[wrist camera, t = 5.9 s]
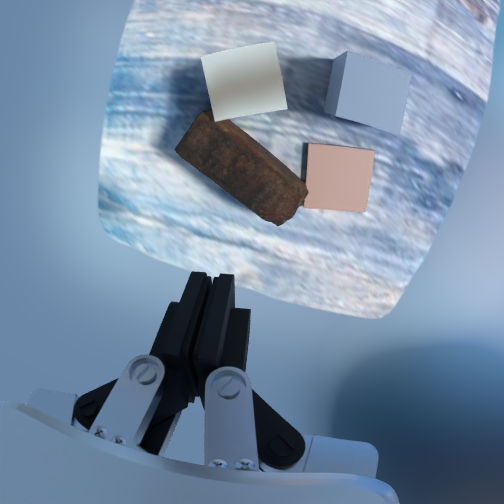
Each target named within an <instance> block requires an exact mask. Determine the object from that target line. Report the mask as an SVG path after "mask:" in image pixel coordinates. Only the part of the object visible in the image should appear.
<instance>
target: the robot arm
mask: <svg viewBox="0 0 504 504" xmlns="http://www.w3.org/2000/svg"><path fill="white" fill-rule="evenodd" d="M234 289H235V285H234V275H233V274H220V275H219V277H214V280H213V283H212V280H211V277H210V276H207V274H206V272H194V271H192V272H191V274H190V277H189V280H188V282H187V284H186V287H185V290H184V292H183V295H182V297H181V300H180V302H171V303H170V304H169V306H168V309H167V311H166V313H165V316H164V318H163V321H162V323H161V326H160V328H159V331H158V333H157V336H156V338H155V341H154V344H153V346H152V349H151V351H150V354H149V355H140V356H137V357H135V358H133V359H132V360H131V361H130V362H129V363H128V364H127V366H126V367H125V369H124V371H123V372H122V374H121V376H120V377H119V378H118V379H116V380H113V381H111V382H110V383H107V384H105V385H103V386H101V387H99V388H97V389H94V390H92V391H90V392H88V393H86V394H84V395H82V396H77V395H76V394H73V393H65V392H58V391H52V390H46V389H37V390H35V391H34V392H33V393H32V394H31V395H30V398H29V401H28V405H26V404H24V403H20V402H15V401H1V402H0V504H399V501H398V498H397V495H396V493H395V491H394V490H393V489H392V487H390V486H389V485H388V484H386V483H384V482H382V481H379V480H377V479H375V476H376V470H377V464H378V452H377V450H376V449H375V447H373V446H372V445H371V444H369V443H365V442H358V441H349V440H342V439H335V438H329V437H322V436H317V435H314V436H308V435H303V434H300V433H299V432H298V431H297V430H296V429H295V428H294V427H292V426H291V425H290V424H289V423H288V422H287V421H285V420H284V419H283V418H282V417H281V416H280V415H279V414H278V413H277V412H276V411H275V410H274V409H272V408H271V407H270V406H269V405H268V404H267V403H266V402H265V401H264V400H263V399H262V398H261V397H260V396H259V395H258V394H257V393H256V392H254V390H253V389H252V387H251V382H250V378H249V377H248V375H247V374H246V373H245V370H246V362H247V352H248V343H249V333H250V313H251V309H243V308H235V290H234ZM195 396H197V397H199V396H200V398H201V402H202V405H203V408H204V410H205V435H204V436H205V438H204V440H205V441H204V447H205V449H204V450H205V451H204V453H205V466H204V465H198V464H192V463H187V462H182V461H178V460H173V459H169V458H164V457H163V456H164V454H165V451H166V449H167V446H168V444H169V442H170V439H171V437H172V435H173V432H174V430H175V427H176V425H177V423H178V420H179V418H180V415H181V412H182V410H183V409H185V408H187V407H188V403H189V402H192V403H194V400H195ZM259 469H260V470H261V471H262V472H259Z"/></svg>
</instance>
